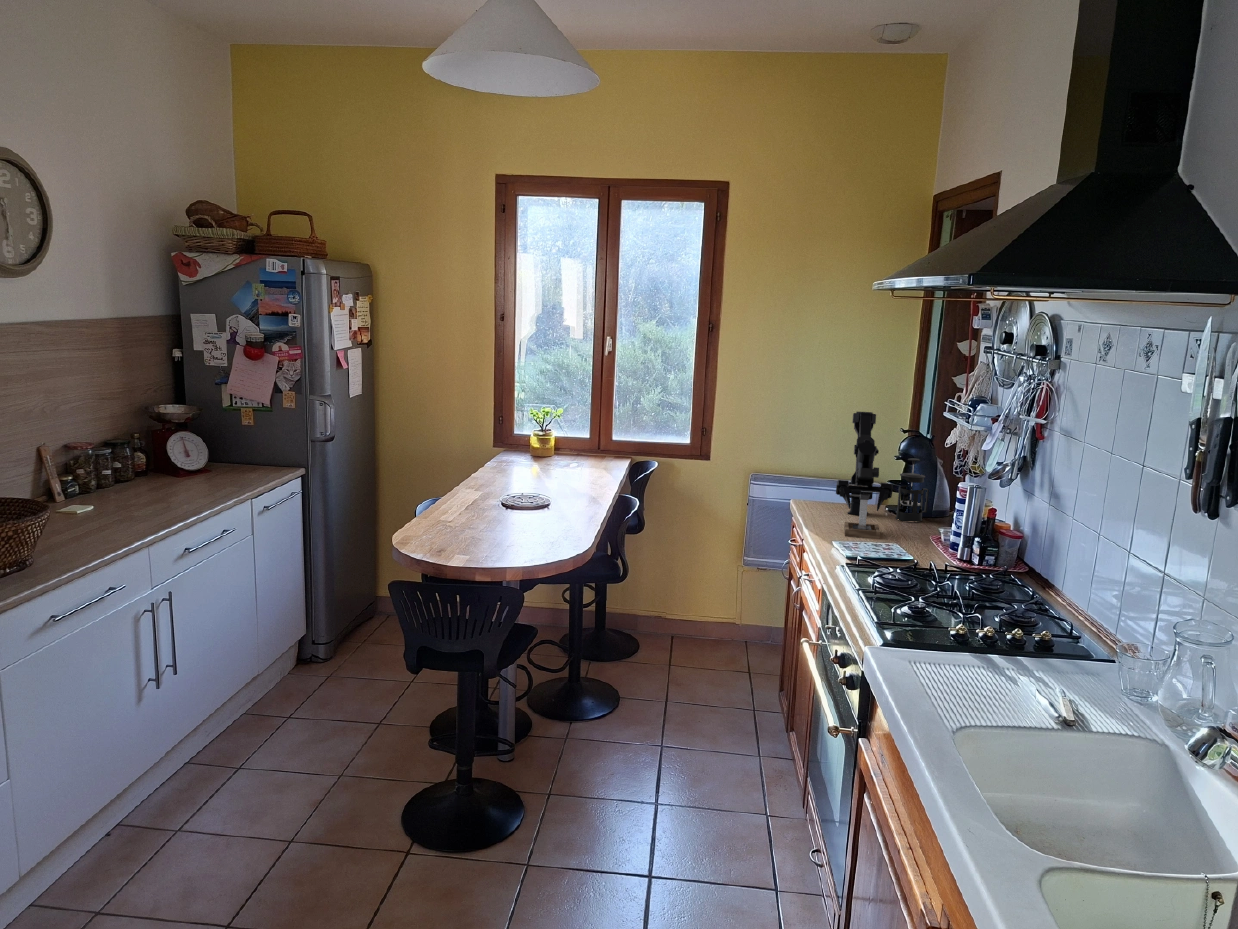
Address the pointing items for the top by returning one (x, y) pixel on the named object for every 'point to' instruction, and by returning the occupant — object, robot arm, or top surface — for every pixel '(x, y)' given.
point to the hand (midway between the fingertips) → (863, 509)
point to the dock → (862, 531)
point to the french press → (900, 512)
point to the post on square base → (863, 513)
